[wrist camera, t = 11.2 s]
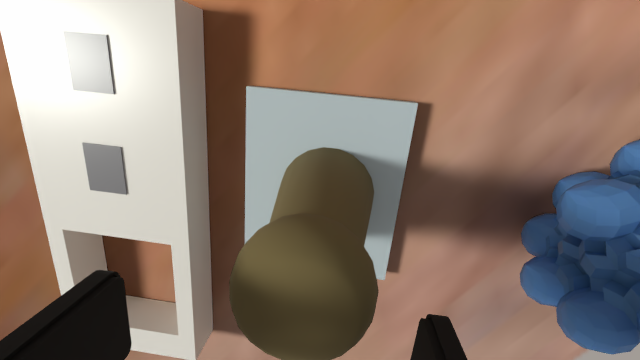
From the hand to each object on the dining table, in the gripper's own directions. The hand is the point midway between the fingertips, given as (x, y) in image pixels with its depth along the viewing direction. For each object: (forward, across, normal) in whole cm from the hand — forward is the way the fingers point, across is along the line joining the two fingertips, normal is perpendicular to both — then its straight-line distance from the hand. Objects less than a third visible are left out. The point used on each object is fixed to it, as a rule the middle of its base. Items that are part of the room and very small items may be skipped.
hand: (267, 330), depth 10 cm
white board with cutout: (+12, +12, +1) cm, 17 cm away
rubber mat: (+12, -1, -1) cm, 12 cm away
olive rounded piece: (+11, -1, -1) cm, 11 cm away
